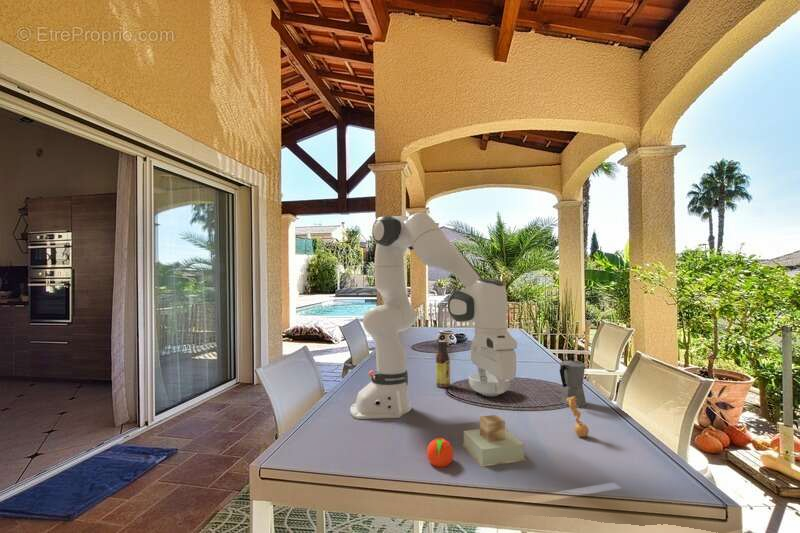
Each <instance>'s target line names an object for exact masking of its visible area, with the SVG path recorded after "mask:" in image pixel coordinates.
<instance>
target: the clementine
mask: <svg viewBox="0 0 800 533" xmlns="http://www.w3.org/2000/svg"><path fill="white" fill-rule="evenodd" d="M453 449H454V448H453V447H452V444H451V443H450V442H449V441H448V440H446V439H445V438H441V437H439V438H435V439H433V440H431V441H430V442H429V444H428V446H427V449H426V457H427V459H428V462H430V464H431V465H432V466H435V467H437V468H438V467H439V468H444V467H448V466H449V465H450V464H451V463H452V461H453V458H454V450H453Z"/></svg>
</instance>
